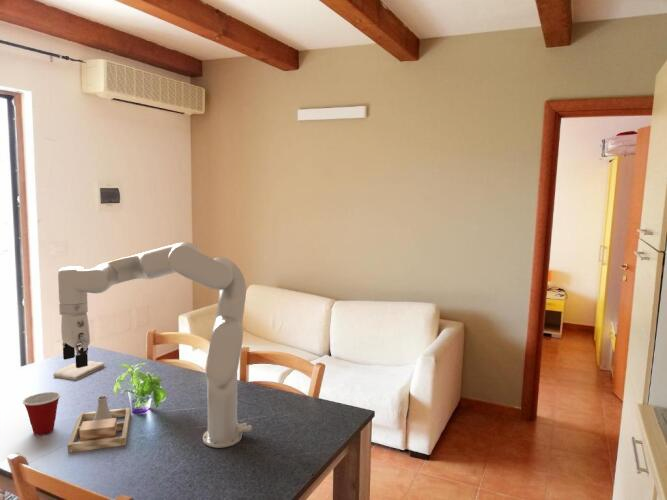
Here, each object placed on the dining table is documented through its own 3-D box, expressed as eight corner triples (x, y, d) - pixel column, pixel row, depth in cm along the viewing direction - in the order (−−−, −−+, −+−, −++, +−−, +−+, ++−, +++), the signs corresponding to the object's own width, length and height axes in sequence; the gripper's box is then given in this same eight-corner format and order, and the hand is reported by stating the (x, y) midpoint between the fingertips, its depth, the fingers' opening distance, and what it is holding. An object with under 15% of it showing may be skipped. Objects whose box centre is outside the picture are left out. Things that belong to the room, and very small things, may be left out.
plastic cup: (56, 420, 172) (54, 387, 170) (66, 431, 164) (64, 397, 163) (20, 430, 164) (18, 396, 163) (29, 442, 157) (27, 407, 155)
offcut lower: (117, 434, 164) (116, 426, 164) (115, 443, 158) (115, 435, 158) (83, 438, 161) (83, 430, 160) (80, 448, 155) (80, 439, 155)
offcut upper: (116, 426, 163) (116, 417, 163) (114, 435, 158) (114, 426, 157) (83, 430, 160) (82, 421, 160) (79, 439, 155) (79, 430, 154)
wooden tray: (130, 414, 178) (130, 407, 177) (125, 445, 157) (125, 437, 157) (79, 420, 172) (79, 413, 172) (68, 452, 152) (67, 445, 151)
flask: (119, 423, 171) (118, 396, 169) (99, 432, 165) (98, 404, 163) (106, 418, 174) (105, 391, 173) (87, 426, 168) (86, 398, 167)
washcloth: (106, 367, 222) (106, 360, 222) (76, 382, 205) (75, 375, 205) (84, 364, 226) (84, 357, 225) (52, 378, 208) (52, 371, 208)
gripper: (98, 311, 145) (100, 367, 148) (75, 300, 157) (77, 352, 159) (71, 315, 140) (73, 373, 142) (49, 304, 151) (51, 358, 154)
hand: (75, 362), depth 151 cm, fingers open, 9 cm apart
